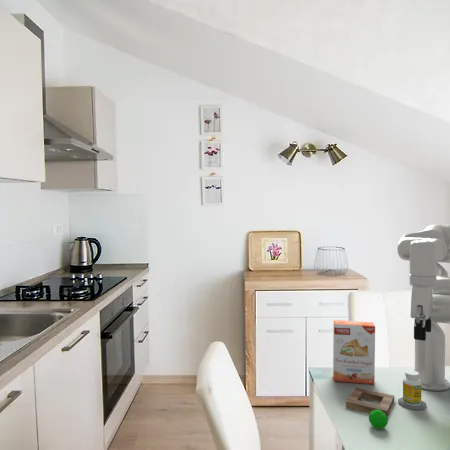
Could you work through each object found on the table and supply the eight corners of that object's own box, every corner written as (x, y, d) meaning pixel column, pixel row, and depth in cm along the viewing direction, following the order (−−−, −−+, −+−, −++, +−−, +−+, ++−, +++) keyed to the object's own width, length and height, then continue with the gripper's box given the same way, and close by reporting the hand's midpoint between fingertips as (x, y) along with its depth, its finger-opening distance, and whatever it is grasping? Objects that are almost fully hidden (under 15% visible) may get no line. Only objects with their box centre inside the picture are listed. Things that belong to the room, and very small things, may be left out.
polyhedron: (388, 425, 117) (388, 408, 117) (387, 433, 113) (387, 416, 112) (369, 421, 119) (369, 405, 119) (367, 429, 115) (367, 412, 115)
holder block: (355, 393, 138) (355, 387, 138) (394, 401, 132) (394, 395, 131) (345, 407, 128) (345, 401, 128) (386, 417, 121) (387, 410, 121)
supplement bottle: (409, 397, 133) (409, 367, 133) (425, 403, 129) (425, 373, 129) (399, 401, 130) (399, 371, 130) (415, 408, 126) (415, 377, 126)
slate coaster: (400, 396, 135) (400, 395, 135) (427, 402, 131) (427, 400, 131) (396, 406, 128) (396, 404, 128) (424, 412, 124) (424, 411, 124)
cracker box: (333, 382, 147) (333, 323, 147) (333, 375, 153) (333, 319, 152) (375, 385, 144) (375, 325, 143) (373, 378, 150) (373, 321, 149)
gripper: (415, 275, 137) (415, 326, 138) (403, 284, 123) (403, 341, 123) (440, 277, 133) (440, 330, 133) (431, 286, 118) (431, 345, 119)
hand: (422, 335), depth 128 cm, fingers open, 9 cm apart
